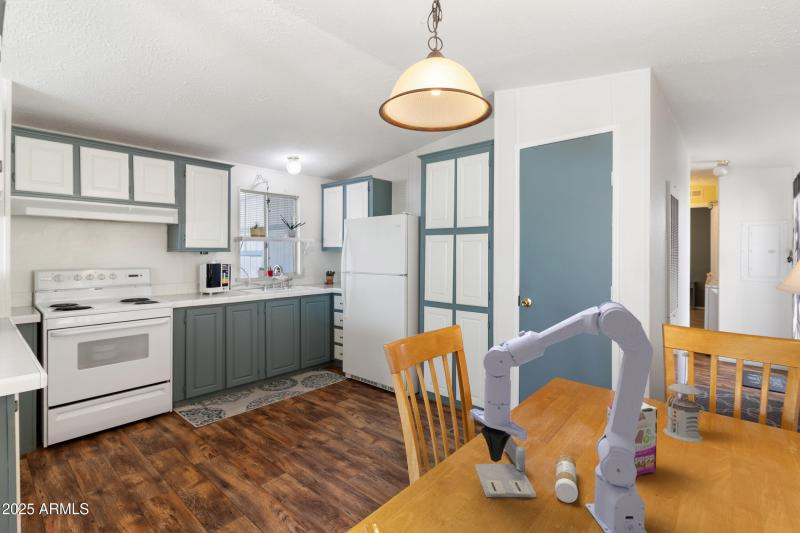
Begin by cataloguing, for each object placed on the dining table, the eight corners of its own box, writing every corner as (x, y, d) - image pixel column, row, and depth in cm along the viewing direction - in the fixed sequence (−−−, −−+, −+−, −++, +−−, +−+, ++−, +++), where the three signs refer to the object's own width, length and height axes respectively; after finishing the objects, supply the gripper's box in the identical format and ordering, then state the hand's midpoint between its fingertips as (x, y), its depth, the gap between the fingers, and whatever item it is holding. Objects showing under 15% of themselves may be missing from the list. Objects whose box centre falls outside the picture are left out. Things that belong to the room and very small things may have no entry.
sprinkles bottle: (563, 474, 100) (563, 507, 88) (552, 458, 101) (550, 487, 89) (580, 467, 99) (582, 498, 86) (568, 450, 99) (569, 479, 87)
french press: (710, 438, 119) (714, 354, 117) (684, 445, 114) (688, 358, 113) (677, 425, 128) (680, 347, 127) (651, 430, 123) (654, 350, 122)
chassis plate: (536, 498, 89) (536, 493, 89) (486, 498, 89) (486, 492, 89) (519, 468, 101) (519, 463, 101) (475, 467, 101) (475, 462, 101)
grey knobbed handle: (517, 470, 98) (518, 451, 97) (501, 446, 110) (501, 428, 109) (526, 470, 98) (526, 450, 98) (509, 445, 110) (509, 428, 110)
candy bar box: (639, 462, 105) (642, 400, 104) (656, 473, 100) (659, 408, 99) (603, 468, 102) (606, 404, 101) (619, 479, 97) (622, 412, 96)
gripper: (536, 406, 87) (534, 467, 88) (483, 387, 99) (482, 442, 99) (516, 414, 83) (514, 478, 83) (463, 393, 94) (462, 450, 95)
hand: (496, 459), depth 91 cm, fingers closed
